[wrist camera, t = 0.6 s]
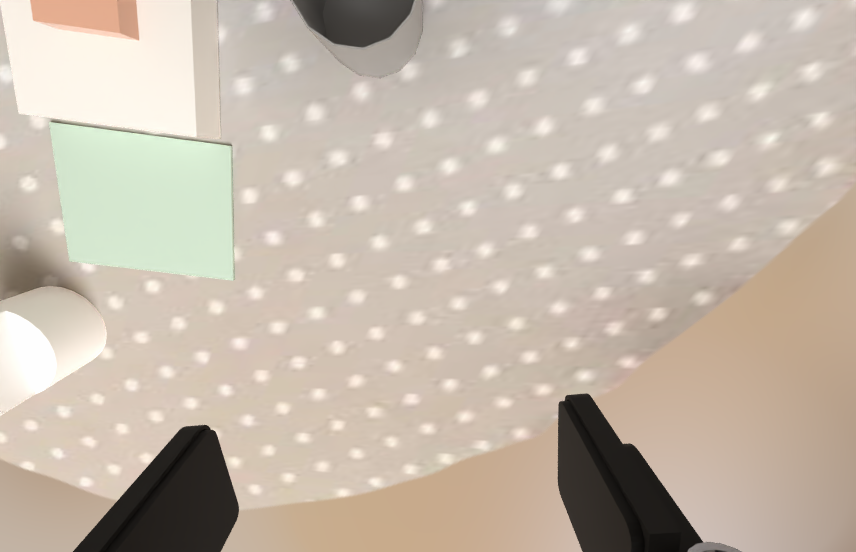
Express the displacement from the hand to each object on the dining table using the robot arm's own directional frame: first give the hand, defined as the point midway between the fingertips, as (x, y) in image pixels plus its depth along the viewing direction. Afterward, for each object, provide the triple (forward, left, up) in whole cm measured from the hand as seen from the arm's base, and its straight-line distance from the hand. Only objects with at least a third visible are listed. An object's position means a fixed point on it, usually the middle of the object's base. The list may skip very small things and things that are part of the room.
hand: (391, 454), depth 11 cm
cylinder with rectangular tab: (+14, -36, -30) cm, 49 cm away
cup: (-18, -6, -30) cm, 35 cm away
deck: (-15, -26, -30) cm, 42 cm away
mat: (0, -26, -30) cm, 39 cm away
